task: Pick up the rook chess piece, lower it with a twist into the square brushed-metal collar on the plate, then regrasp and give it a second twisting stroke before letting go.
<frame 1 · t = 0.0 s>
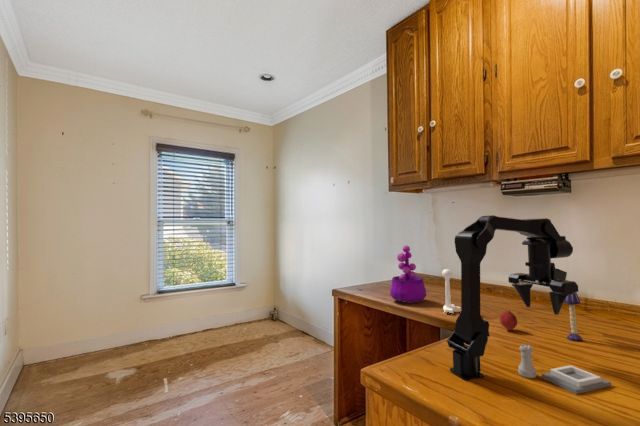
hand: (541, 310, 100), 15 cm above the countertop, tool pointing down, fingers open, 9 cm apart
rook chess piece: (527, 375, 90), on the countertop
decorative plant: (408, 302, 174), on the countertop
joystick: (452, 312, 152), on the countertop
collar plate: (575, 381, 85), on the countertop
onion: (509, 330, 125), on the countertop
toy lamp: (574, 339, 115), on the countertop
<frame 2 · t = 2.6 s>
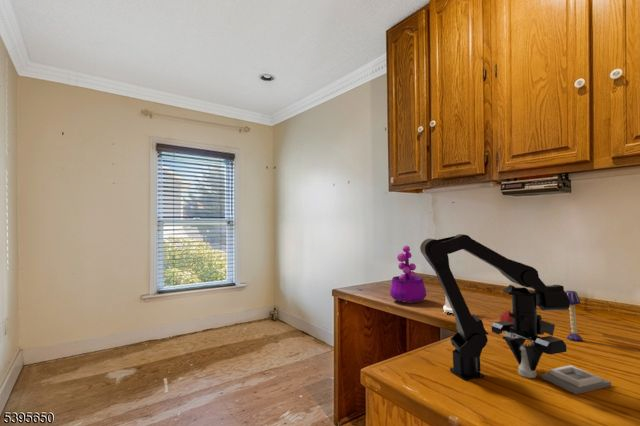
hand: (527, 367, 90), 2 cm above the countertop, tool pointing down, fingers closed on rook chess piece, 3 cm apart
rook chess piece: (527, 375, 90), on the countertop, touching gripper
everything else where it was.
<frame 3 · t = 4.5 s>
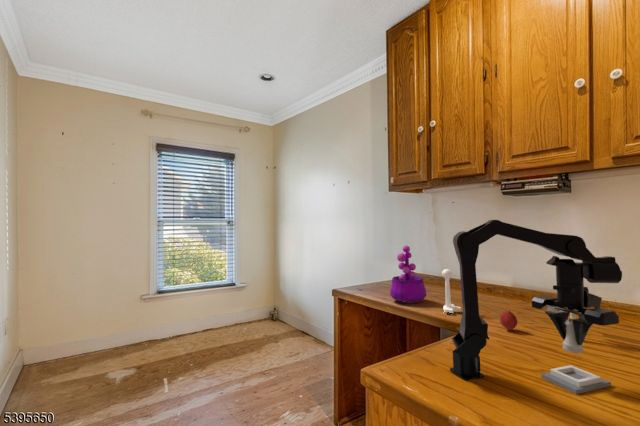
hand: (572, 342, 86), 10 cm above the countertop, tool pointing down, fingers closed on rook chess piece, 3 cm apart
rook chess piece: (573, 351, 85), point 8 cm above the countertop, touching gripper
everything else where it was.
when the fingers open (3 cm above the countertop, at t = 6.3 s): rook chess piece stays where it is, resting on collar plate.
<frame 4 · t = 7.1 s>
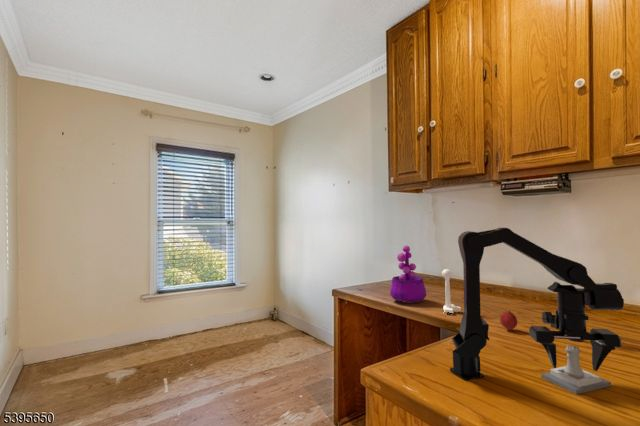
hand: (574, 368, 85), 3 cm above the countertop, tool pointing down, fingers open, 9 cm apart
rook chess piece: (574, 378, 85), point 1 cm above the countertop, touching collar plate
everything else where it was.
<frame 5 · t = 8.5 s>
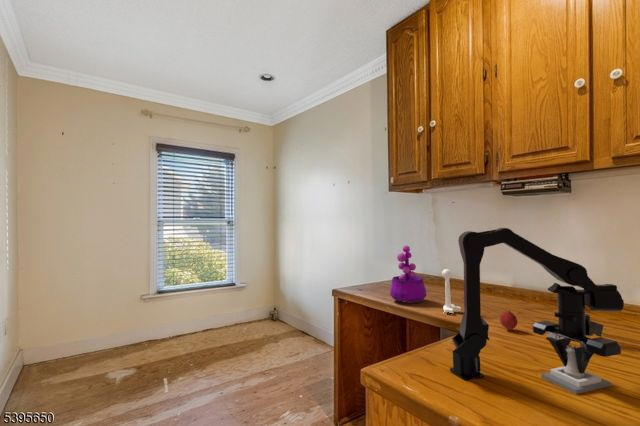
hand: (574, 369, 85), 3 cm above the countertop, tool pointing down, fingers closed on rook chess piece, 3 cm apart
rook chess piece: (574, 378, 85), point 1 cm above the countertop, touching collar plate, gripper
everything else where it was.
when the fingers open (3 cm above the countertop, at t = 9.5 s): rook chess piece stays where it is, resting on collar plate.
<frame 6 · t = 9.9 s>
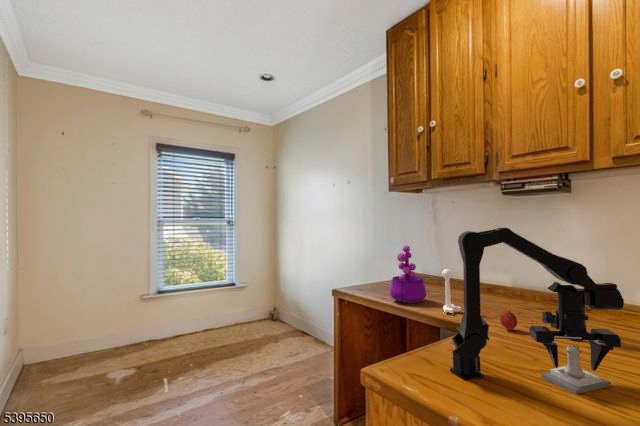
hand: (574, 368, 85), 3 cm above the countertop, tool pointing down, fingers open, 8 cm apart
rook chess piece: (574, 378, 85), point 1 cm above the countertop, touching collar plate
everything else where it was.
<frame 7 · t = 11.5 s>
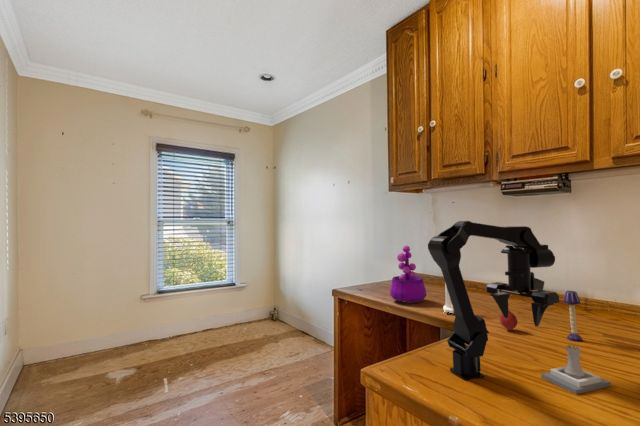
hand: (520, 321, 96), 13 cm above the countertop, tool pointing down, fingers open, 9 cm apart
nothing on the countertop moved.
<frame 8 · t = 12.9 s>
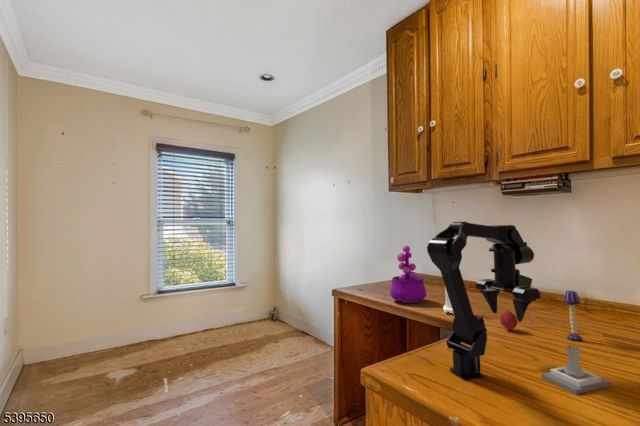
hand: (506, 317, 100), 13 cm above the countertop, tool pointing down, fingers open, 9 cm apart
nothing on the countertop moved.
at the end: rook chess piece 0.1 cm off-centre on the collar plate, point 0.8 cm above the collar plate's base; rook chess piece tilted 0°; the gripper is holding nothing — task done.
